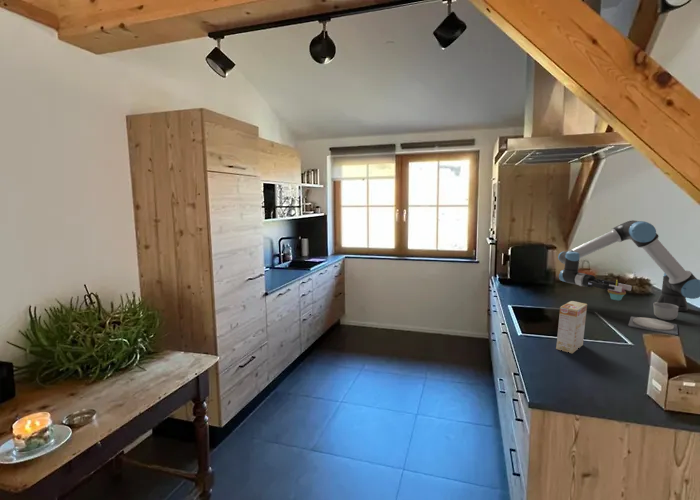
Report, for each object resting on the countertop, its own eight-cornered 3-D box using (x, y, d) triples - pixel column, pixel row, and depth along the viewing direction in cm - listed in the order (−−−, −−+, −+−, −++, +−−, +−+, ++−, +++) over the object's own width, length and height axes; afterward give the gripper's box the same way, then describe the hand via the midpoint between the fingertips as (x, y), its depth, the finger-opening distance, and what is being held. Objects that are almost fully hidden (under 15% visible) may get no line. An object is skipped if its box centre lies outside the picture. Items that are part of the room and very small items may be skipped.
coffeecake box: (566, 340, 179) (570, 300, 177) (583, 345, 174) (588, 303, 172) (555, 349, 169) (559, 306, 167) (572, 354, 164) (577, 310, 161)
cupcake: (622, 302, 208) (624, 280, 206) (604, 298, 215) (606, 277, 213) (627, 299, 214) (629, 278, 212) (609, 296, 220) (612, 276, 218)
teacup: (681, 322, 210) (683, 308, 209) (659, 320, 212) (661, 306, 211) (666, 314, 223) (668, 301, 222) (645, 313, 225) (646, 300, 224)
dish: (630, 317, 217) (631, 314, 217) (676, 325, 205) (677, 322, 204) (628, 326, 202) (628, 322, 202) (677, 335, 189) (678, 331, 189)
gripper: (595, 284, 234) (636, 293, 214) (573, 287, 225) (613, 297, 205) (597, 272, 233) (638, 280, 213) (574, 275, 224) (615, 283, 204)
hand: (626, 288), depth 209 cm, fingers closed on cupcake, 8 cm apart
